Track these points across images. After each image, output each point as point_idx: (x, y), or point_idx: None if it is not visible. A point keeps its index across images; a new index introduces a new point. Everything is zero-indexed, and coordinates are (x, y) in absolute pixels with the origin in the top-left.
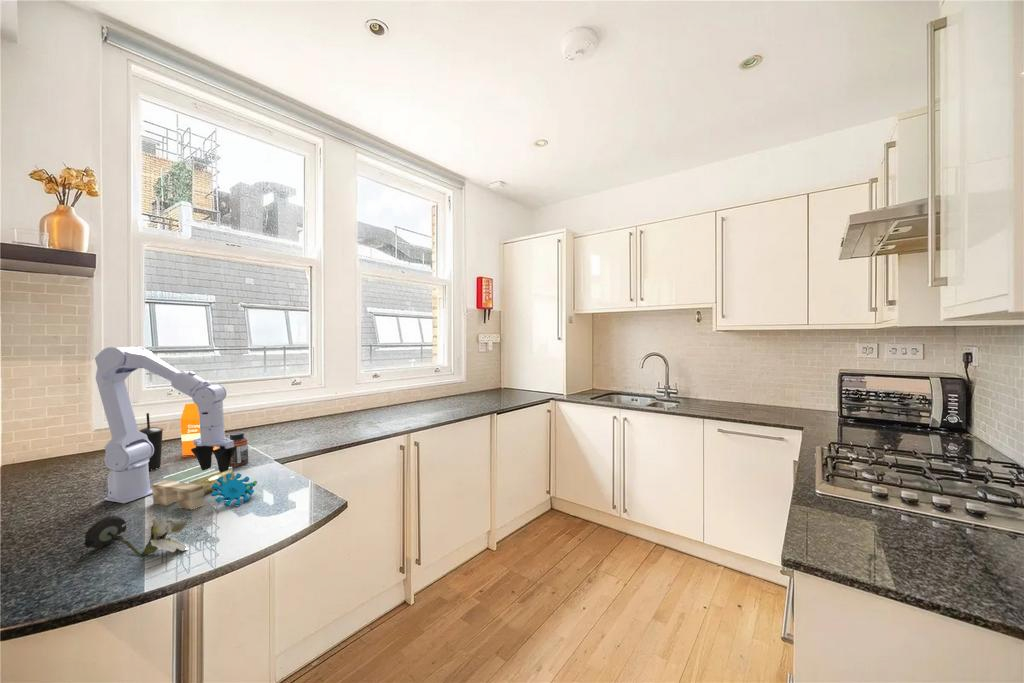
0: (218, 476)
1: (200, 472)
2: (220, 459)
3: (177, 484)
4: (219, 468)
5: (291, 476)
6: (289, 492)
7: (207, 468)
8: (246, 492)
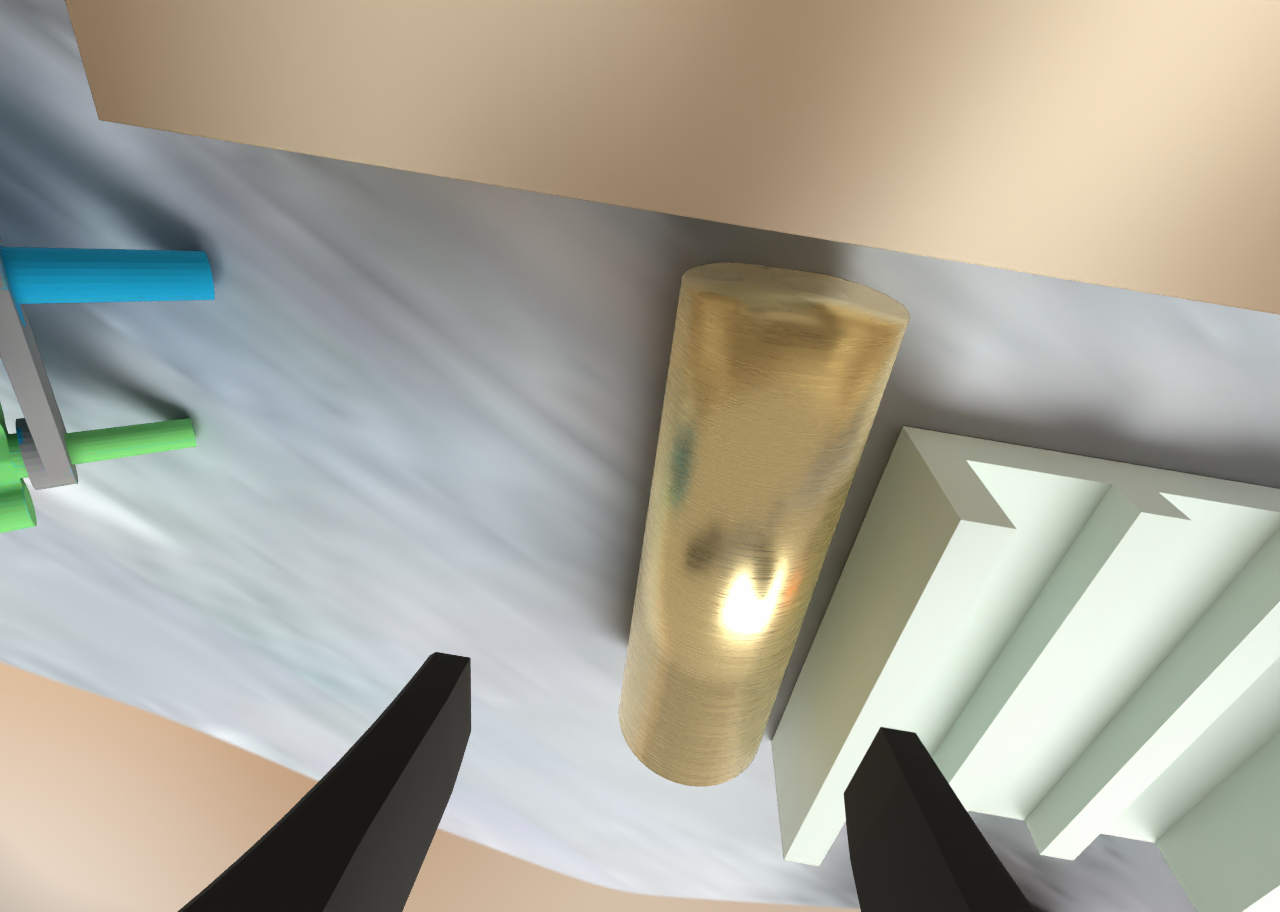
0: (680, 664)
1: (1203, 816)
2: (186, 908)
3: (861, 118)
4: (406, 706)
5: (254, 747)
6: None
7: (860, 774)
8: (126, 427)
